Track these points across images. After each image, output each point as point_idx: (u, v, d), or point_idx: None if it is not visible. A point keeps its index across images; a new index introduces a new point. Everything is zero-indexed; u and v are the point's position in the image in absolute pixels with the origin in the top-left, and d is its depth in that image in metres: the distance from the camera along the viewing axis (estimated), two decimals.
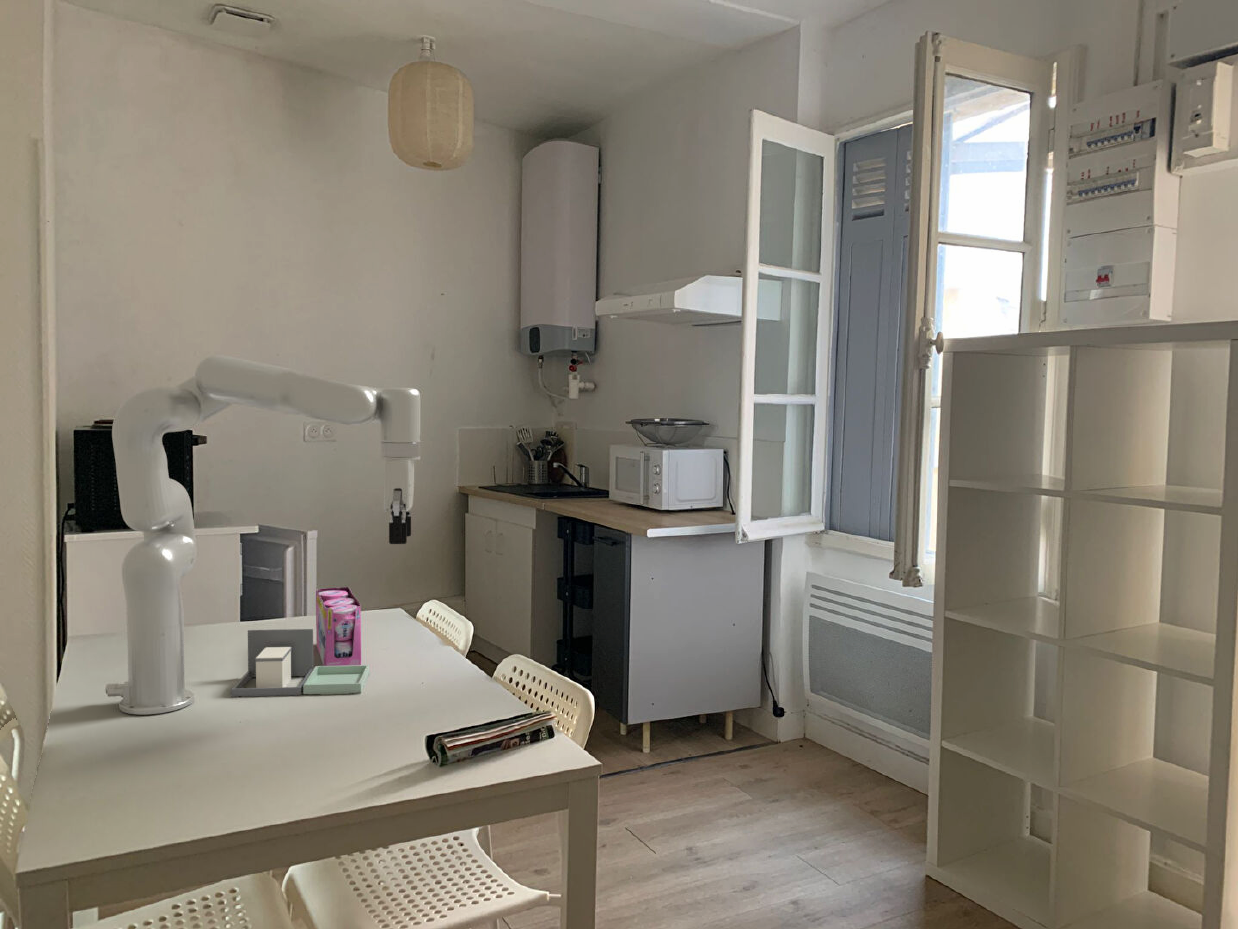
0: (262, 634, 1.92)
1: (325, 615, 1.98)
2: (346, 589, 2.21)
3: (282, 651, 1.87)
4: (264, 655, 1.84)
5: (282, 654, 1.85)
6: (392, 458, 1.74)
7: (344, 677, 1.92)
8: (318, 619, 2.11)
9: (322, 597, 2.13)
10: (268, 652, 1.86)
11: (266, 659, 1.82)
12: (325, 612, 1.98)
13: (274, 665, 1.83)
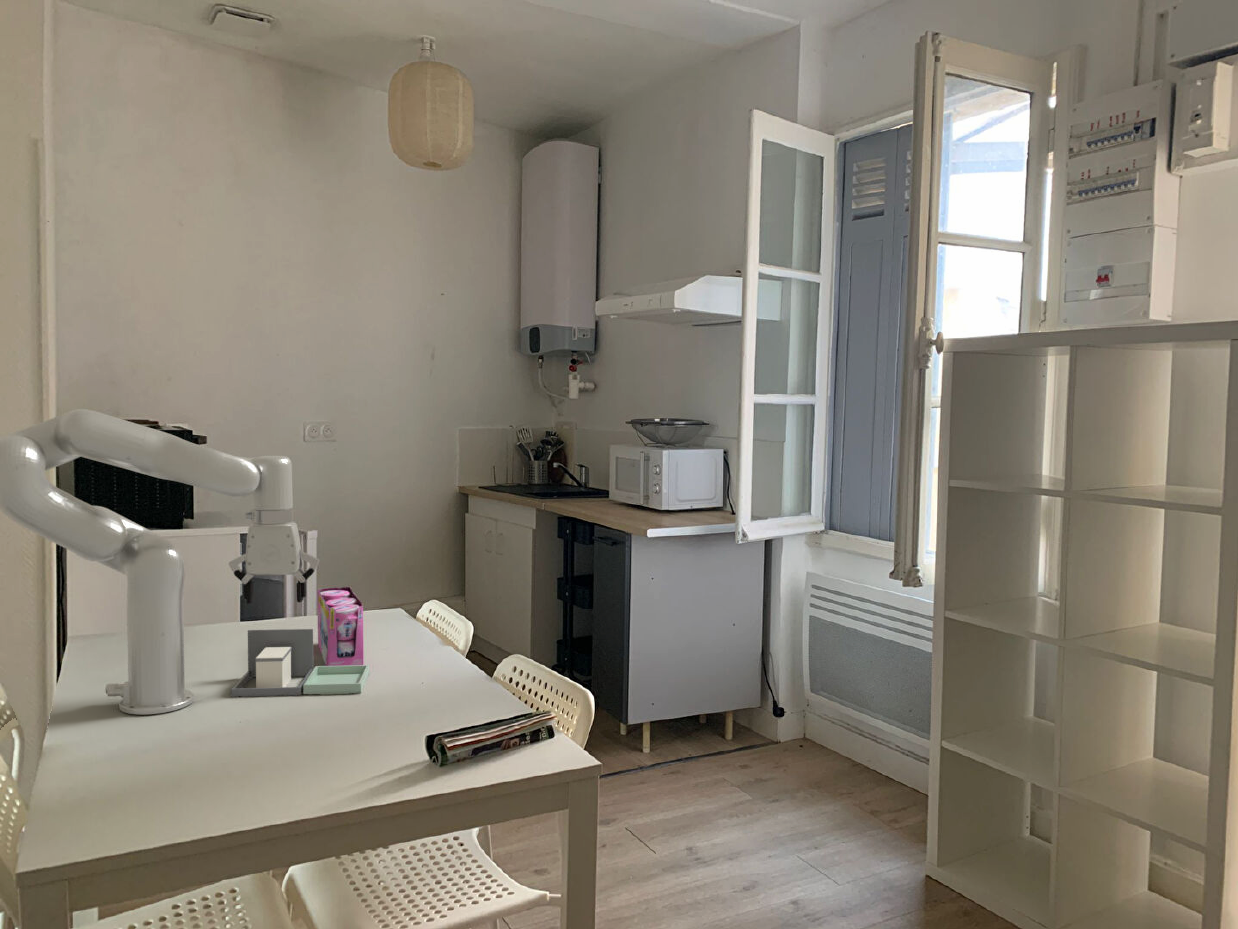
0: (262, 634, 1.92)
1: (327, 615, 1.99)
2: (347, 588, 2.21)
3: (282, 651, 1.87)
4: (264, 655, 1.84)
5: (282, 654, 1.85)
6: (290, 523, 1.84)
7: (344, 677, 1.92)
8: (320, 619, 2.11)
9: (324, 597, 2.13)
10: (268, 652, 1.86)
11: (266, 659, 1.82)
12: (327, 612, 1.99)
13: (274, 665, 1.83)
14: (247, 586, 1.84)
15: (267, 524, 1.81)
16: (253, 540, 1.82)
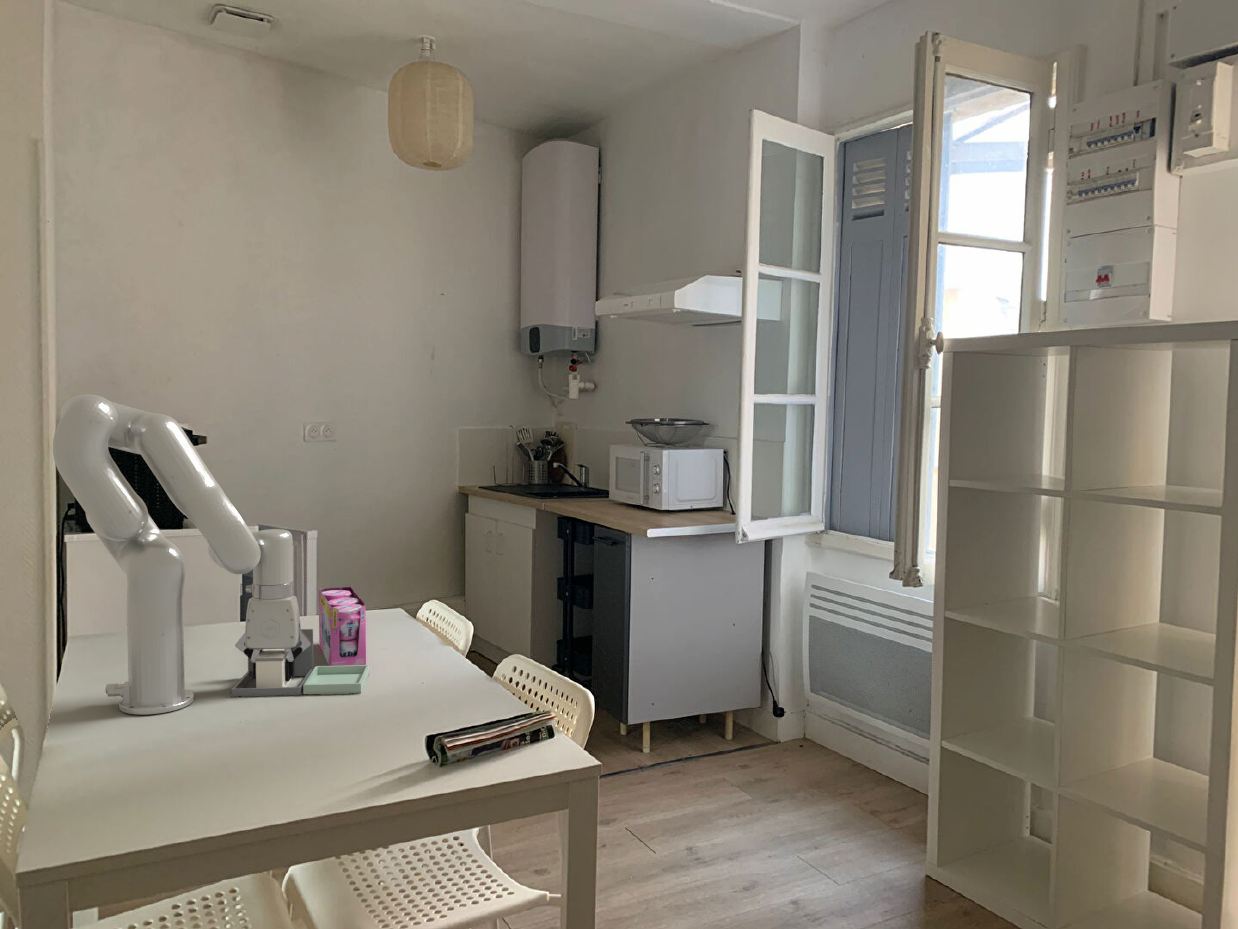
0: None
1: (330, 614, 1.99)
2: (349, 588, 2.21)
3: (282, 651, 1.87)
4: (264, 655, 1.84)
5: (282, 654, 1.85)
6: (290, 597, 1.85)
7: (344, 677, 1.92)
8: (322, 619, 2.11)
9: (325, 597, 2.14)
10: (268, 652, 1.86)
11: (266, 659, 1.82)
12: (330, 611, 1.99)
13: (274, 665, 1.83)
14: None
15: (267, 599, 1.82)
16: (253, 614, 1.83)
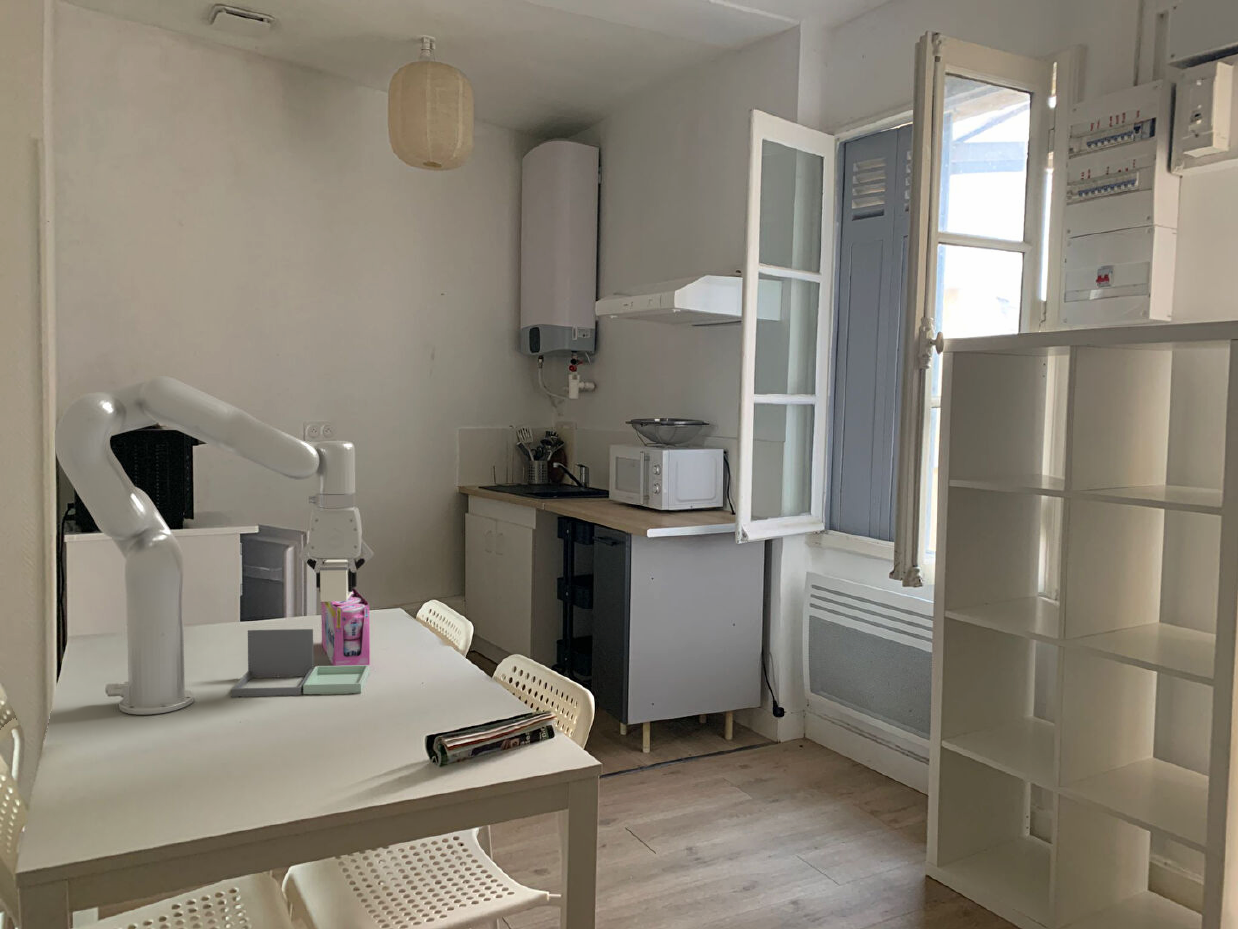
0: (262, 634, 1.92)
1: (334, 614, 1.99)
2: None
3: (344, 562, 1.88)
4: (328, 565, 1.85)
5: (345, 564, 1.86)
6: (353, 507, 1.86)
7: (344, 677, 1.92)
8: (325, 618, 2.12)
9: None
10: (331, 563, 1.87)
11: (330, 568, 1.83)
12: (334, 611, 1.99)
13: (338, 574, 1.83)
14: None
15: (331, 508, 1.83)
16: (316, 524, 1.83)
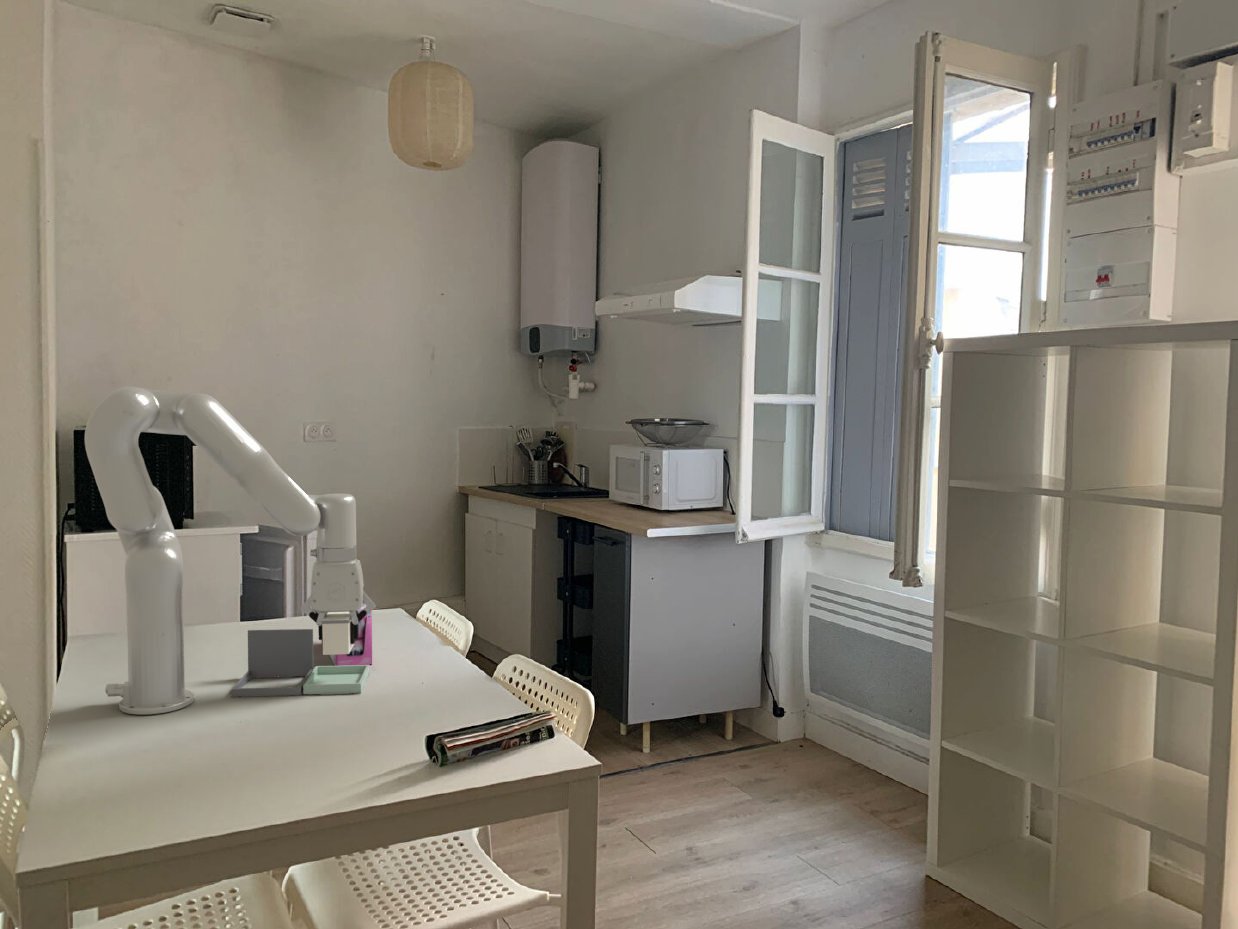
0: (262, 634, 1.92)
1: None
2: None
3: (346, 614, 1.89)
4: (330, 618, 1.86)
5: (347, 617, 1.86)
6: (354, 560, 1.86)
7: (344, 677, 1.92)
8: None
9: None
10: (333, 615, 1.88)
11: (332, 621, 1.84)
12: None
13: (340, 627, 1.84)
14: None
15: (332, 562, 1.83)
16: (318, 577, 1.84)
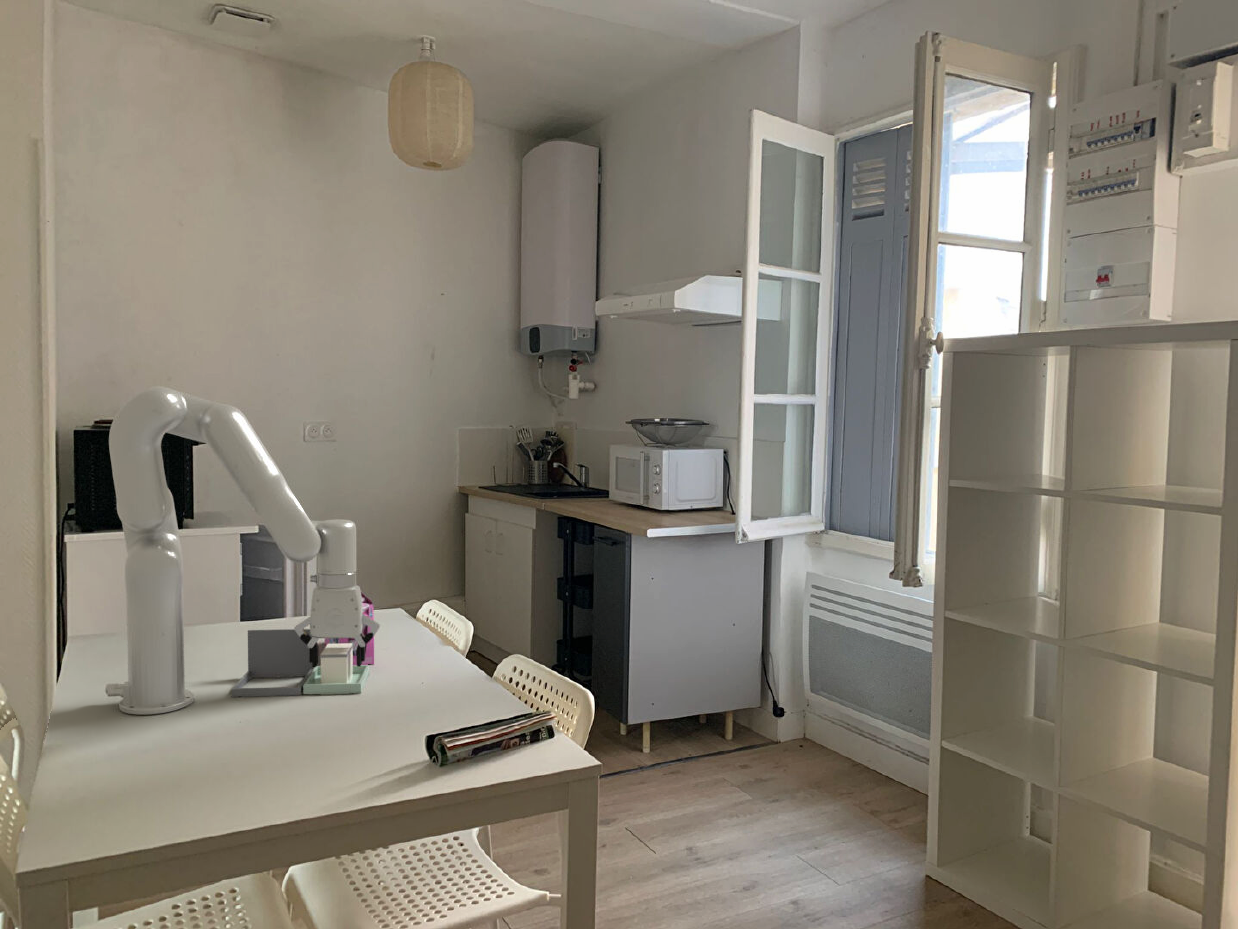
0: (262, 634, 1.92)
1: None
2: None
3: (345, 647, 1.89)
4: (328, 651, 1.86)
5: (346, 650, 1.87)
6: (354, 587, 1.87)
7: None
8: None
9: None
10: (331, 648, 1.88)
11: (331, 655, 1.84)
12: None
13: (339, 661, 1.85)
14: (313, 650, 1.86)
15: (332, 588, 1.84)
16: (318, 604, 1.85)
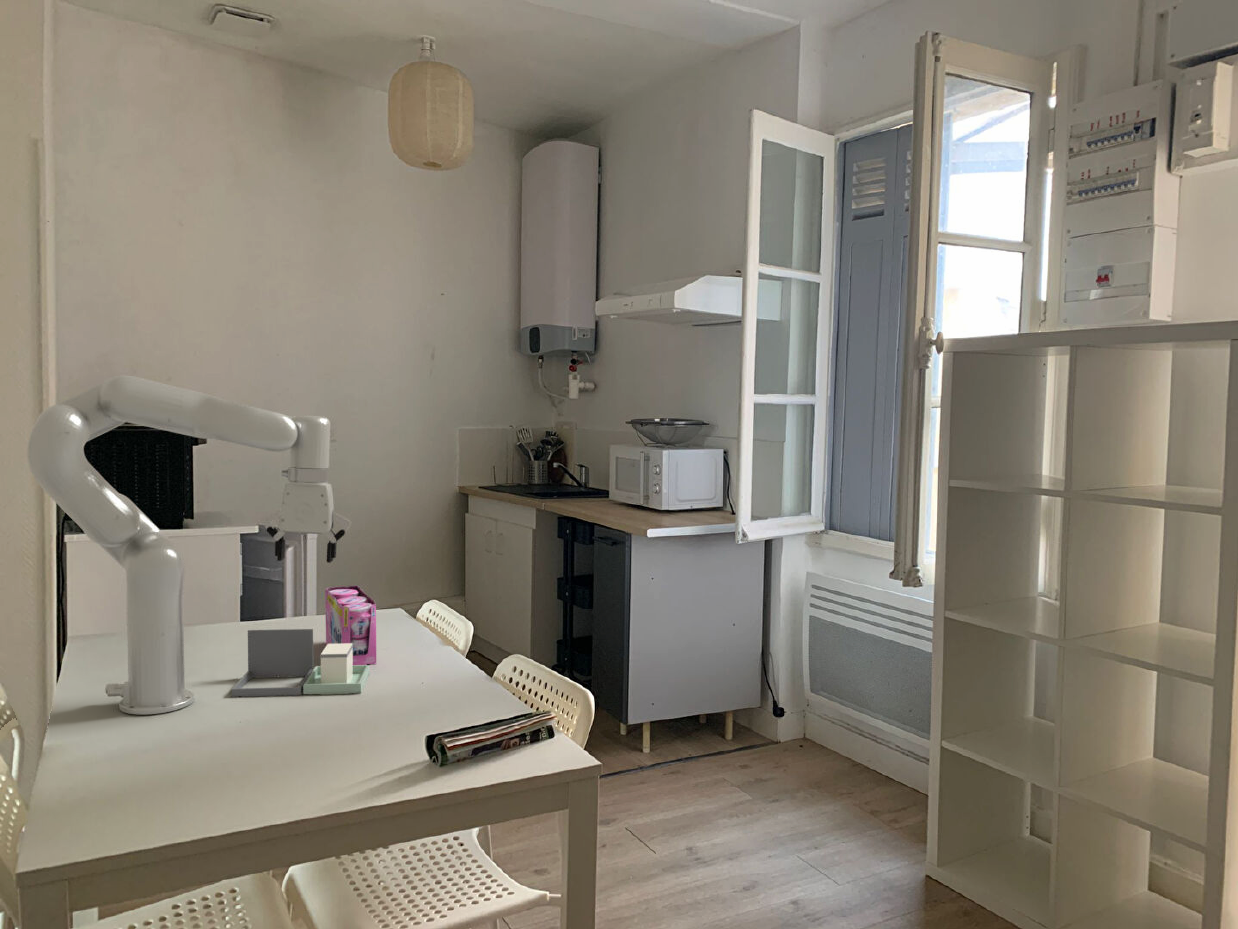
0: (262, 634, 1.92)
1: (341, 613, 2.00)
2: (355, 587, 2.22)
3: (345, 647, 1.89)
4: (328, 651, 1.86)
5: (346, 650, 1.87)
6: (325, 483, 1.86)
7: None
8: (330, 618, 2.12)
9: (333, 596, 2.15)
10: (331, 648, 1.88)
11: (331, 655, 1.84)
12: (341, 610, 2.00)
13: (339, 661, 1.85)
14: (279, 543, 1.85)
15: (303, 482, 1.83)
16: (288, 497, 1.84)
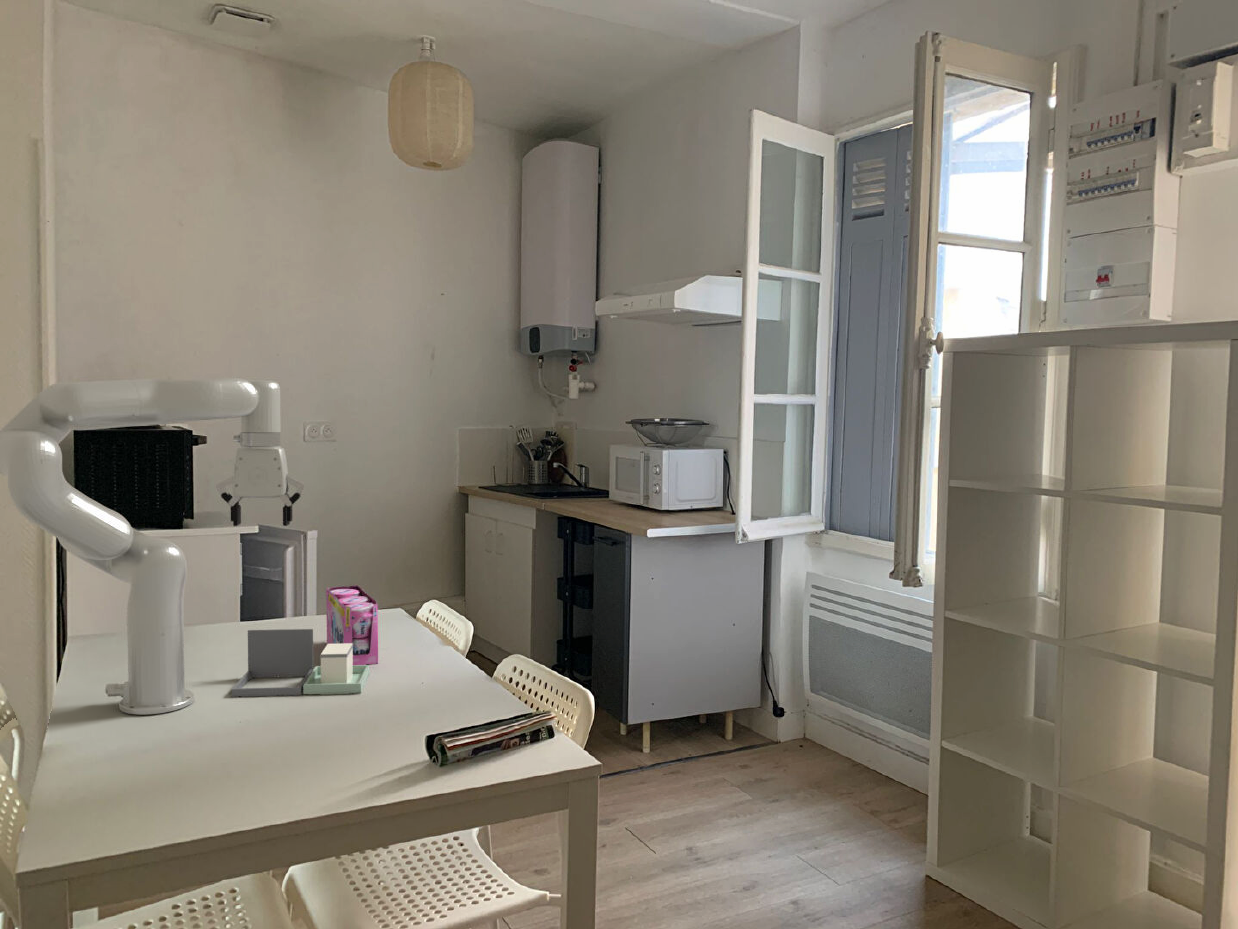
0: (262, 634, 1.92)
1: (343, 613, 2.01)
2: (356, 587, 2.23)
3: (345, 647, 1.89)
4: (328, 651, 1.86)
5: (346, 650, 1.87)
6: (277, 447, 1.87)
7: None
8: (331, 617, 2.12)
9: (334, 596, 2.15)
10: (331, 648, 1.88)
11: (331, 655, 1.84)
12: (343, 610, 2.01)
13: (339, 661, 1.85)
14: (234, 508, 1.86)
15: (255, 446, 1.84)
16: (240, 462, 1.84)
